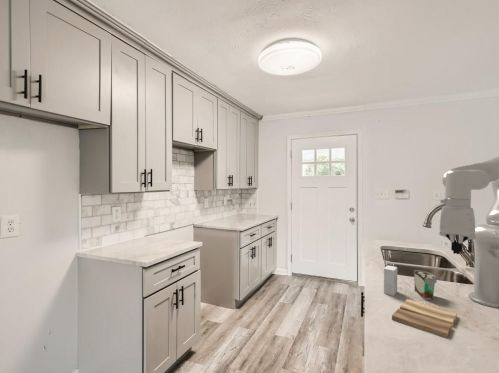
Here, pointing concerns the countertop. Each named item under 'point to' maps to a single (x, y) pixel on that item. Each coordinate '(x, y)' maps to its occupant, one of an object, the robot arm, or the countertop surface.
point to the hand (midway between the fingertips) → (456, 253)
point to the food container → (424, 284)
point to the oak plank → (429, 311)
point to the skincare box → (390, 280)
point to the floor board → (422, 322)
